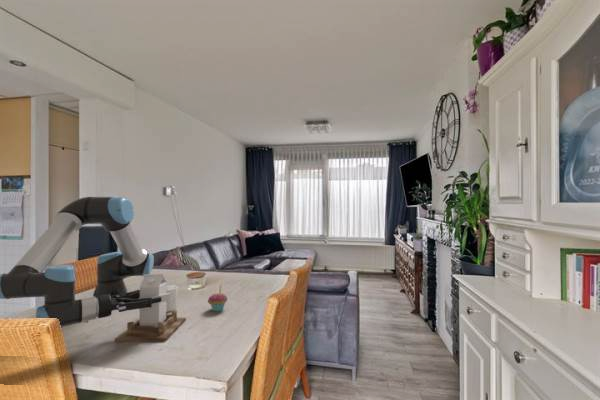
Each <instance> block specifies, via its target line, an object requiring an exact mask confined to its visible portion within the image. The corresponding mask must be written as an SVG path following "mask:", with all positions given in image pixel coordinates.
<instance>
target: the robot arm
mask: <svg viewBox="0 0 600 400" xmlns="http://www.w3.org/2000/svg"><path fill="white" fill-rule="evenodd" d="M134 215H135V211H134V206H133V203H132V201H130V199H128V198H127V197H125V196H124V197H123V196H86V197H81V198H78V199H76V200H74V201H71V202H69V204H66V205H65V206H64V207H63V208H61V209H60V211H58V212H57V213H56V214H55V215H54V217H53V222H52V223H51V224H50V225H49V227H48V228H47V229H46V230H45V231H44V232H43V233H42V235H41V236H40V237H39V238H38V239H37V240H36V241H35V242H34V244H32V246H31V247H30V248H29V249H28V250H27V251H26V253H25V254H24V255H23V256H22V257H21V258H20V260H18V262H16V264H15V265H13V268H11V270H9V271H8V273H0V300H1V299H2V300H10V299H22V298H25V299H26V298H40V297H41V298H44V305H43V304H42V305H41V306H40V305H39V306H38V307H37V308H36V309H35V319H36V318H57V319H59V321H60V325H61V327H60V328H63V327H66V326H71V325H75V324H79V323H86V324H87V323H89V321H92V320H96V319H97V318H98V319H103V318H107V317H111V315H112V313H113V311H115V310H116V311H118V313H123V312H127V311H132V310H140V309H141V308H148V307H149V308H151V307H152V304H157V303H161V302H166V301H170V293H167V294H162V295H157V296H152V297H151V298H142V299H140V289H136V290H133V291H130V292H129V291H128V289H127V286H126V282H125V281H124V277H144V274H152V271H153V268H154V263H155V262H154V261H155V256H154V253H150V252H149V253H148V252H147V251H146V249H145V248H143V247H141V245H140V243H139V241H138V238H137V236H136V234H135V232H134V229H133V227H132V225H131V223H132V221H133V219H134ZM89 224H90V225H91V224H92V225H98V224H99V225H101V228H102V229H104V231H106V232H109V233H110V235H111V236H112V238H113V240H114V241H115V243H116V245H117V248H118V249H119V251H115V252H114V251H113V252H108V253H104V254H100V255H99V256H98V257H97V263H96V270H97V271H96V277H97V278H96V281H97V282H96V286H95V289H94V291H93V294H92V296H90V297H85V298H80V299H76V278H77V277H76V269H75V266H74V265H71V264H60V265H59V264H58V265H53V266H49V265H50V264H51V263H52V261H53V260H54V258H55V257H56V256H57V254H58V253H59V252H60V251H61V249H62V248H63V247H64V245H66V243H67V242H68V240H69V239H70V237H72V235H73V234H74V233H75V231H79V230H80V229H81V228H82V227H83V226H85V225H89ZM48 266H49V267H48Z"/></svg>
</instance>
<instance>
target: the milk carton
mask: <svg viewBox="0 0 600 400" xmlns="http://www.w3.org/2000/svg"><path fill="white" fill-rule="evenodd" d="M166 286H167V281H166V279H165V277H164V273H150V274H144V276H143V279H142V281H141V284H140V286H139V290H140V298H139V299H142V298H151V297H152V296H157V295H162V294H166ZM166 314H167V312H166V302H161V303H157V304H152V307H151V308H149V307H148V308H141V309H139V319H140V326H158V322H161V321H165V320H166Z"/></svg>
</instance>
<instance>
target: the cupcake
mask: <svg viewBox="0 0 600 400" xmlns="http://www.w3.org/2000/svg"><path fill="white" fill-rule="evenodd" d="M227 300H228V297H227V296H226V295H225V294H224V293H222V284H220V286H219V293H213V294H211V295H210V296H209V297H208V299H207V303H208V304H209V305H210V307H211V309H212V312H213V311H214V312H220V311H223V310H224V308H225V305H226V303H227Z"/></svg>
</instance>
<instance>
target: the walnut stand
mask: <svg viewBox="0 0 600 400" xmlns="http://www.w3.org/2000/svg"><path fill="white" fill-rule="evenodd" d="M186 318H187V317H185V316H184V317H178V310H176V309H175V310H173V311H171V313H166V320H165V321H161V322H158V326H140V318H139V319H138V320H136V321H135V322H134V321H129V322H127V323H126V325H127V326H126V329H125V330H124V331H123V332H121V333H120V334H119V335H117V336H116V337H115V338H114V340H115V341H114V342H115V343H116V342H119V343H120V342H124V343H125V342H126V343H127V342H167V341H168V340H170V338H171V336H173V335H174V333H176V331H178V329H180V327H182V325H183V324H184V323H185V322H186V320H187V319H186Z"/></svg>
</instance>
